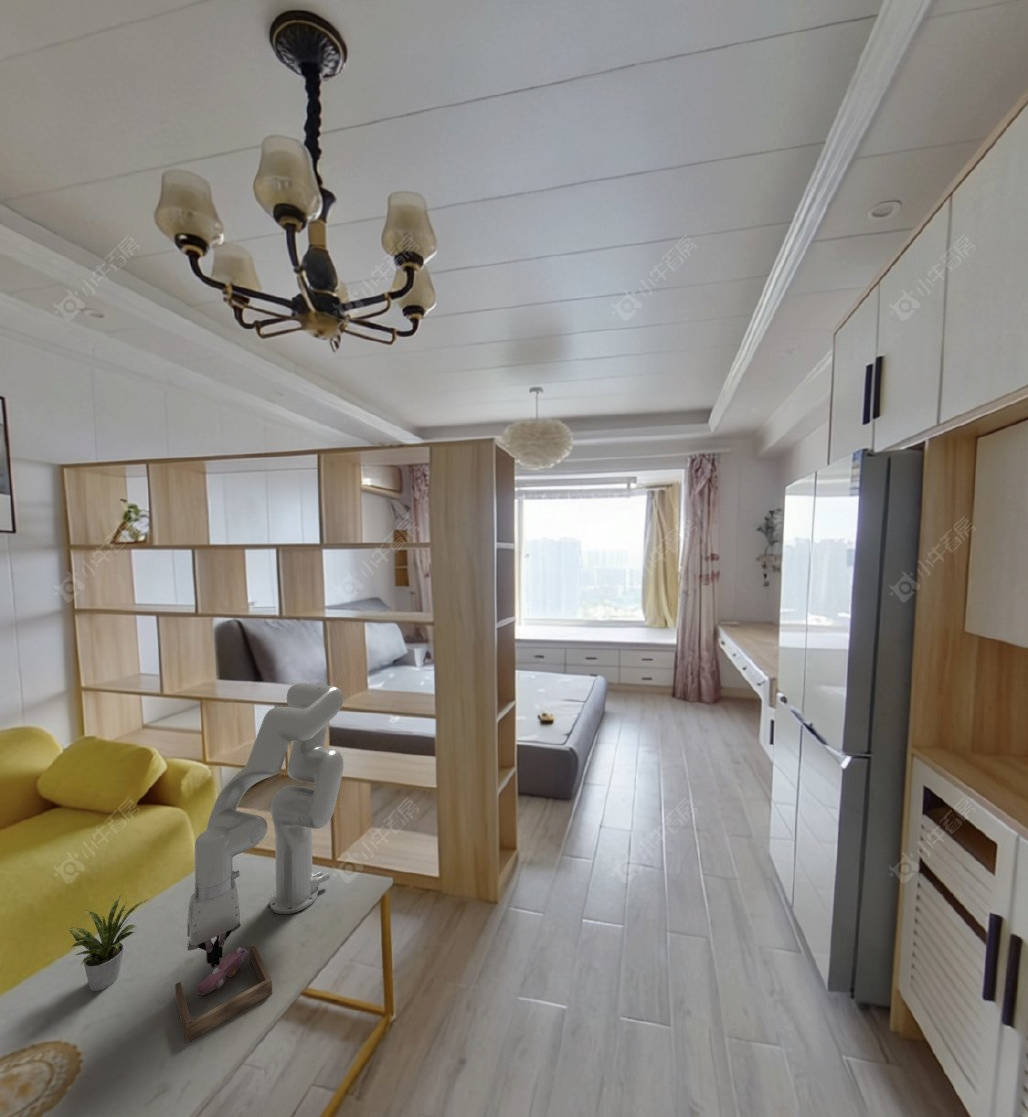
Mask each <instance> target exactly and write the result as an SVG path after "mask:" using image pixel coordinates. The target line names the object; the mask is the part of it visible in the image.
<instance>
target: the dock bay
mask: <svg viewBox="0 0 1028 1117" xmlns="http://www.w3.org/2000/svg"><path fill="white" fill-rule="evenodd" d="M249 960H250V962H251V963H252V966H253V968H254V970H255V972H256V974H257V977H258V979H259V981H260V982H259V983H258V984H256V985H254V986H252V987H250V988H249V989H246V990H245V991H243V992H241V993H239V994H238V995H236V996H234V997H232V998H231V999H229V1000H226V1001H225V1002H223V1003H221V1004H219V1005H218V1006H216V1007H214V1008H213V1009H210V1010H209V1011H207V1012H206V1013H203V1014H202V1015H200V1016H198V1017H197V1018H195V1019H191V1015H190V1010H189V1008H188V1004H187V1000H186V997H185V993H184V990H183V984H182V981H178V982H176V983H175V984H174V993H175V994H174V995H175V996H174V997H175V998H174V1000H175V1002H176V1006H177V1010H178V1014H179V1019H180V1022H181V1025H182V1026H181V1027H182V1029H183V1034H184V1036H185V1041H186V1043H189V1042H190V1041H192V1040H194V1039H195V1038H197V1037H200V1036H201V1035H202V1034H205V1033H206V1032H208V1031H209V1030H212V1029H213V1028H215V1027H217V1026H218V1025H220V1024H221V1023H224V1022H225V1021H227V1020H229V1019H230V1018H232V1017H235V1016H236V1015H237V1014H239V1013H241V1012H242V1011H244V1010H246V1009H248V1008H250V1007H251V1006H253V1005H255V1004H256V1003H258V1002H259V1001H261V1000H263V999H265V998H266V997H268V996H270V995H272V994H273V979H272V977H271V975H270V973H269V971H268V968H267V967H266V964H265V963H264V961H263V958H262V957H261V954H260V952H259V950H258V948H257V947H256V945H255V944H252V945H250V946H249Z"/></svg>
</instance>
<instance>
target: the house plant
mask: <svg viewBox="0 0 1028 1117" xmlns="http://www.w3.org/2000/svg"><path fill="white" fill-rule="evenodd" d="M121 896H122V894H120V895H119V896H118V897H117V898H116V899H115V901H114V903H113V905H112V906H111V909H110V911H109V914H108V918H107V922H106V918H105V916H104V915H102V914H100V916H99V914H97V913H95V912H93V911H90V910H88V909H87V910H86V909H84V910H83V911H84V912H85V913H86V914H88V915H89V916H87V915H86V916H85V917H87V918H90V919H91V920H93V922H94V924H95V927H96V930H97V933H98V935H99V938H100V940H98V939H97V938H96V937H95V936H94V935H93V934H92V932H89V931H88V930H87V929H85V928H81V927H76V926H75V927H74V926H72V927H67V929H69V930H68V931H69V932H70V934H71V935H72V936H73V938H74V940H75V943H73V944H72V946H71V948H74V947H79V946H82V947H84V948H86V949H87V950H84V951H80V952H78V953H76V954H75V956H79V955H86V957H84V958H83V959H82V962H81V963H80V965H82V964H83V965H84V970H85V974H86V978H87V982H88V986H89V989H90V990H91V991H93V992H94V991H95V992H96V991H100V990H104V989H106V988H108V987H109V986H111V985H113V983H115V982H116V981H118V979H119V976H120V971H121V965H122V961H123V954H124V951H125V944H124V943H123V942H122V941H123V940H125V939H126V938H128V937H129V936H130V935H132V934H134V933H136V932H134V931H131V930H132V929H134V928H137V926H136V925H135V924H128V925H127V926H126V927H124V926H125V924H126V923H127V922H128V921H129V920H130V919H131V917H130V918H128V917H129V916H130V915H131V913H132V912H133V911H135V910H136V908H138V907H139V906H140V905H141V904H143V903H145V902H147V901H148V899H146V900H143V901H140V902H138V903H137V904H135V905H134V906H132V907H131V908H130V909H129V910H128V909H125V908H126V906H127V904H128V902H127V901H126V902H125V903H124V904H123V905H122V907H121V908H120V910H119V912H118V914H117V915H116V917H115V914H116V911H117V909H118V906H119V902H120V899H121ZM125 911H128V912H126V914H125V915H124V916H123V918H122V920H121V917H122V914H123V912H125ZM101 917H102V919H101ZM114 918H115V919H114ZM127 918H128V919H127ZM120 920H121V921H120ZM123 927H124V928H123ZM121 929H122V930H121ZM120 930H121V931H120ZM79 933H80V934H79ZM100 941H101V942H100Z"/></svg>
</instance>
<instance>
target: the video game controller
mask: <svg viewBox="0 0 1028 1117" xmlns="http://www.w3.org/2000/svg"><path fill="white" fill-rule="evenodd" d="M248 955H250V951H248V950H247V949H246V948H243V947H241V946H239V947H237V949H235V950H234V951H233V952H231V953H229V954H227V955H226V956H224V957H222V959H221V960H220V964H219V965H218V966H215V967H214V968H213V969H212V971H211V972H210V974H208V976H207V977H206V978H205V979H204V980H203V981H201V982H200V983H199V984H198V985H197V987H196V991H197V994H198V995H200V996H204V995H205V996H206V995H208V994H209V993H211V992H212V991H214V990H215V989H216V990H219V989H220V988H222V986H223V985H224V984H225V982H226V979H227V977H229V978H232V977H233V976H234V975H235V974H236V973H237V971H238V969H239V968H240V967H241V965H242V964H243V963H244V962H245V960H246V959H247V957H248ZM226 976H227V977H226Z"/></svg>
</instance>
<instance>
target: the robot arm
mask: <svg viewBox="0 0 1028 1117" xmlns="http://www.w3.org/2000/svg"><path fill="white" fill-rule="evenodd" d="M286 702H287V706H277V707H276V706H275V707H273V708H271V709H269V710H268V711H267V712H266V713H265V715H264V717H263V719H262V722H261V725H260V728H259V730H258V733H257V734H256V738H255V741H254V744H253V746H252V747H251V748H252V749H251V752H250V753H249V757H248V760H247V762H246V765H245V766H244V767H243V768H242V769H241V770H240V771H239V772H237V773H236V774H235V775H234V777H232V778H231V779H230V781H228V783H227V784H226V785H225V786H224V787H223V789H222V790H221V791H220V793H219V794H218V796H217V798H216V800H215V802H214V805H213V808H212V811H211V813H210V816H209V818H208V822H207V827H206V830H204V831H203V832H202V833H200V834H199V835H198V836H197V838H195V842H194V893H192V895H191V896H190V899H189V905H188V911H187V912H188V913H187V922H186V924H187V925H186V926H187V927H186V932H187V934H186V935H187V937H188V938H187V943H186V949H187V951H193V950H197V949H200V950H202V951H206V952H205V953H206V954H205V955H206V959H205V960H206V964H207V965H210V967H211V969H215V968H216V967H217V966H218V965H219V964H220V962H221V960H220V959H223V958H224V957H223V954H224V952H223V948H224V947H223V946H224V945H225V942H226V940H227V939H228V938H229V937H230V935H231V934H232V933H233V932H235V931H237V930H238V929H239V928H241V912H240V911H241V908H240V901H239V894H238V887H237V884H236V881H235V879H237V878H239V877H240V871H239V869H238V870H234V869H233V858H234V857H236V856H237V855H240V854H242V853H245V852H247V851H249V850H251V849H253V848H255V847H256V846H258V845H259V844H260V843H261V842H262V841H263V839H264V838H265V837H266V835H267V833H268V822H267V820H266V819H265V818H264V817H262V816H261V815H257V814H252V813H248V812H243V811H240V810H238V807H239V805H240V802H241V799H242V798H243V796H244V795H245V794H246V792H247V791H248V790H249V789H251V787H253V786H254V785H255V784H257V783H259V782H261V781H263V780H265V779H267V778H271V777H274V776H276V775H278V774H279V773H280V772H281V770H282V768H283V764H284V761H285V760H286V756H287V753H288V749H289V747H290V744H291V742H293V743H292V747H291V751H290V755H289V758H288V763H287V769H286V772H287V775H288V777H289V778H291V779H292V780H295V781H299V782H303V783H304V782H305V783H310V784H314V786H313V787H314V788H313V787H308V786H302V785H287V786H284V787H282V788H280V789H279V790H278V791H277V792H275V793H274V796H273V797H272V800H271V805H270V813H271V814H270V815H271V818H272V819H271V820H272V822H273V823H272V824H273V827H274V836H275V838H274V839H275V840H274V841H275V848H274V849H275V851H274V852H275V855H274V856H275V891H274V892H273V893H272V895H271V896H270V898H269V909H270V910H271V911H272V912H273V913H275V914H279V915H290V914H295V913H297V912H300V911H302V910H304V909H306V908H308V907H309V906H311V904H313V903H314V902H315V901H316V899H317V898H318V896H319V886H320V884H322V883H325V882H327V881H328V880H330V879H331V876H330V873H329V872H325V873H322V871H321V870H320V871H318V872H316V873H314V874H313V831H312V829H315V830H316V829H317V830H318V829H322V828H324V827H325V826H327V825H328V823H329V822H330V821H331V819H332V817H333V815H334V811H335V809H336V808H335V807H336V804H337V800H338V795H339V790H340V786H341V782H342V777H343V772H344V758H343V755H342V754H341V752H339V751H338V750H336V749H333V748H326V747H325V743H326V738H327V737H326V736H327V733H328V732H327V730H328V725H327V724H328V723H329V722H331V721H332V720H333V718H334V717H335V716H337V714H338V713H339V712H340V711H341V709H342V707H343V704H344V694H343V691H342V690H341V689H340V688H339V687H337V686H335V685H334V686H333V685H325V684H318V683H317V684H315V683H307V682H303V683H302V682H301V683H295V684H293V685H292V686H290V687H289V689H287V693H286ZM214 938H215V940H214V942H212V939H214Z"/></svg>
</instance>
